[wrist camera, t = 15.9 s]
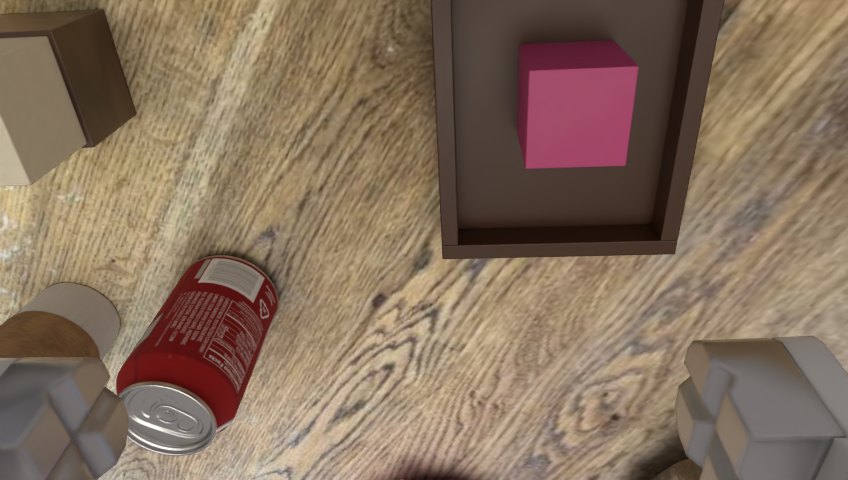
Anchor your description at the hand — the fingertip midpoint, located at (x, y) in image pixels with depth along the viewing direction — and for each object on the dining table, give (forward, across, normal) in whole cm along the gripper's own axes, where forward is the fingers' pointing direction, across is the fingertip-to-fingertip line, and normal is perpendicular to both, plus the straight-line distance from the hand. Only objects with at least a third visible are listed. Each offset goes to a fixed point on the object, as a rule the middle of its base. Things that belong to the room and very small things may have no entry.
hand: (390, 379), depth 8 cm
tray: (+27, -7, +5) cm, 29 cm away
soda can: (+27, +15, +19) cm, 37 cm away
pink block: (+27, -7, +5) cm, 28 cm away
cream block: (+23, +21, +3) cm, 31 cm away
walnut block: (+28, +21, +3) cm, 35 cm away
